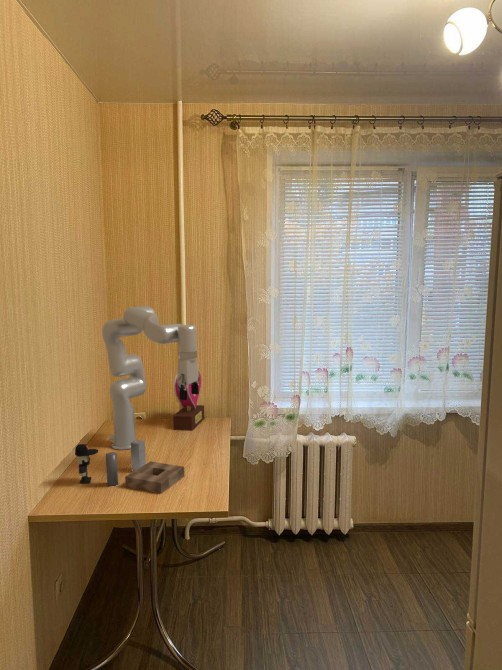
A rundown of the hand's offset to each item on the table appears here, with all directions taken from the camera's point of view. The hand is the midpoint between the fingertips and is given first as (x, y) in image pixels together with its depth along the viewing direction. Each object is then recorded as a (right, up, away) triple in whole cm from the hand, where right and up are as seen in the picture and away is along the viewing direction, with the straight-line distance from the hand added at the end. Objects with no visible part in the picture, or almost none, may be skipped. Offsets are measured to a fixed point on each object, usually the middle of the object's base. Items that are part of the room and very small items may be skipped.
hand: (189, 396), depth 192 cm
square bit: (-21, -30, 0) cm, 36 cm away
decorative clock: (-8, -23, +60) cm, 64 cm away
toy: (-38, -32, -10) cm, 51 cm away
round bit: (-28, -32, -13) cm, 44 cm away
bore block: (-12, -31, -11) cm, 35 cm away
